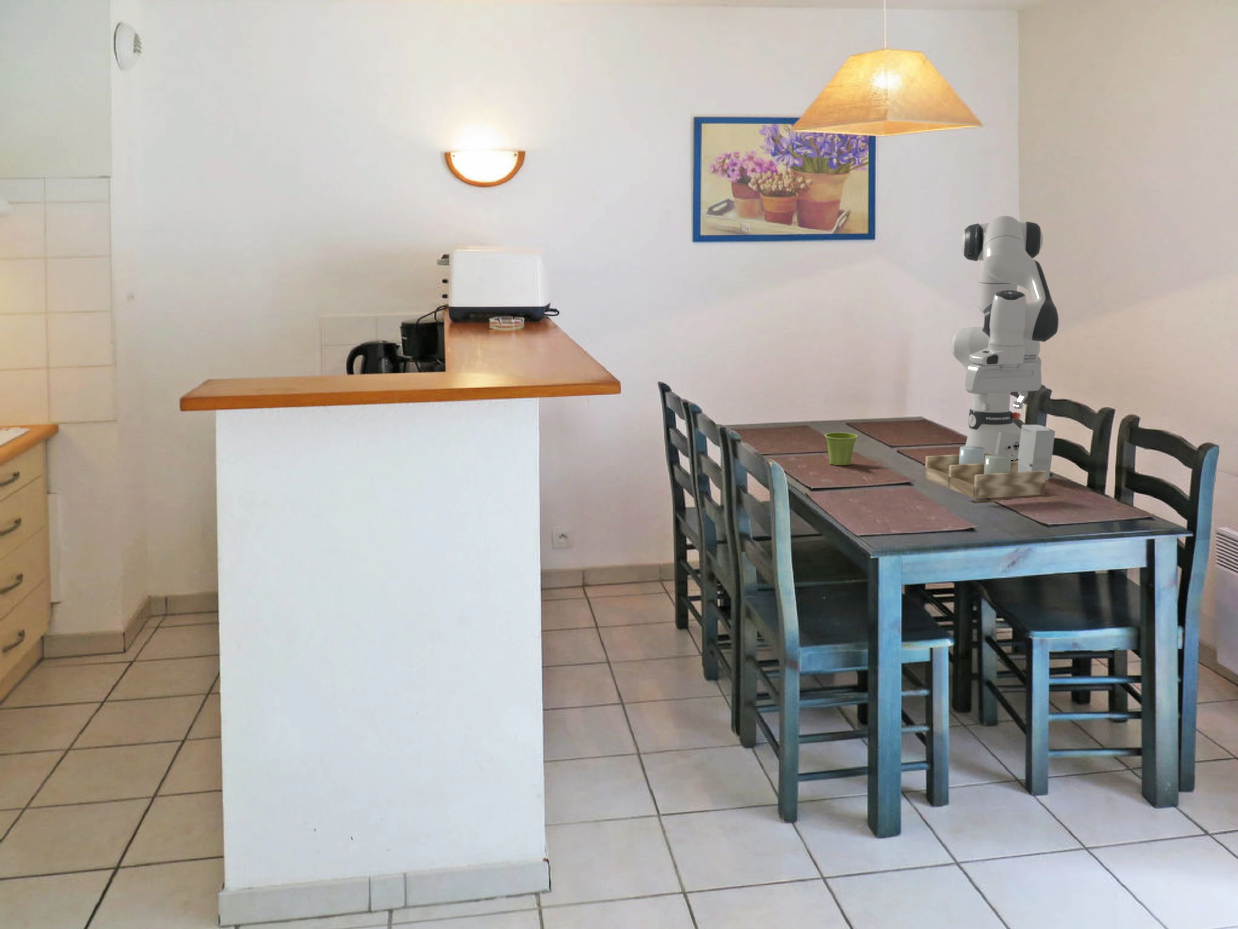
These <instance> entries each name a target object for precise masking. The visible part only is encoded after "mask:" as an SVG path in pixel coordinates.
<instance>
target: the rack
mask: <svg viewBox="0 0 1238 929" xmlns="http://www.w3.org/2000/svg"><path fill="white" fill-rule="evenodd" d="M991 454H993V453H984V463H979V464H961V465H959V454H944V455H928V456H927V455H925V464H924V465H925V466H924V479H925V480H929V481H931V482H933V483H936V484H938V485H941V486H943V487H945V488H948V489H950V490H952V491H955V492H957V493H960V494H963V495H965V496H967V497H969V498H972V499H974V500H970V502H971V503H973V504H983V503H984V504H985V503H988V504H989V503H997V502H996V501H1001V500H1012V499H1020V498H1029V497H1030V496H1036V497H1044V498H1045V490H1046V481H1045V480H1046V471H1029V472H1018V462H1017V460H1013V461H1011V466H1010V473H996V474H984V465H985V456H986V455H991ZM1026 496H1027V497H1026ZM1008 497H1009V498H1008ZM977 499H978V500H977ZM979 499H980V500H979Z"/></svg>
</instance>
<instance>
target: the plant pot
mask: <svg viewBox="0 0 1238 929" xmlns="http://www.w3.org/2000/svg"><path fill="white" fill-rule="evenodd" d="M824 437H825V440H826V443H827V444H826V445H827V451H828V452H827V453H828V464H829V465H833V466H835V465H845V466H849V464H850V465H851V464H852V463H851V462H852V456H853V450H854V446H855V443H856V440H857V439H858V435H857V434H854V433H850V432H829V433H826V434H824Z"/></svg>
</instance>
